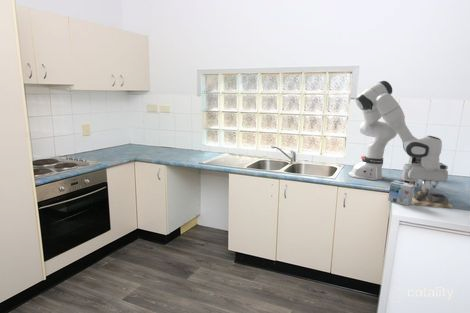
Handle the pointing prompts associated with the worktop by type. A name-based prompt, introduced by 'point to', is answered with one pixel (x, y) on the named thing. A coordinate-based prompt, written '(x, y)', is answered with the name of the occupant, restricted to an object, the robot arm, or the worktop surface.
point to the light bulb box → (401, 192)
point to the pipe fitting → (426, 186)
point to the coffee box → (414, 160)
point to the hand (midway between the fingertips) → (425, 187)
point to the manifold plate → (431, 200)
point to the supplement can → (406, 175)
